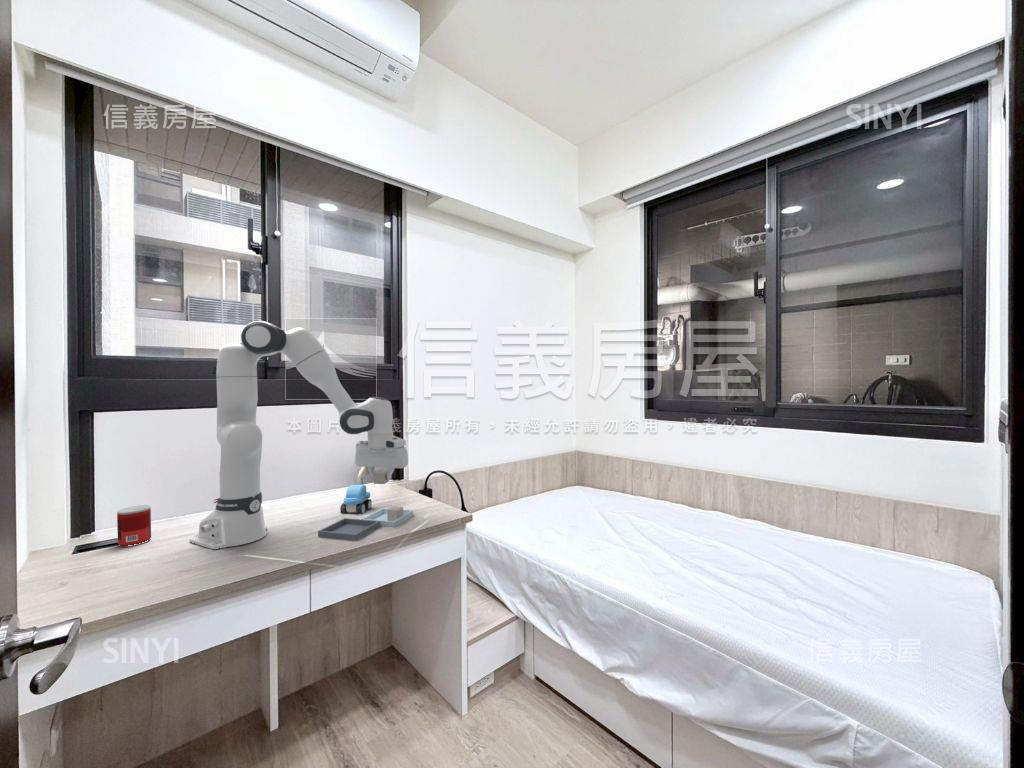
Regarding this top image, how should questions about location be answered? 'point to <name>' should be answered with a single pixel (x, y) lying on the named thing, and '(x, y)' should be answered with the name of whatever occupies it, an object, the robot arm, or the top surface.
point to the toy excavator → (357, 496)
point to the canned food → (134, 525)
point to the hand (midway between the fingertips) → (381, 479)
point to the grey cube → (394, 513)
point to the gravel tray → (349, 529)
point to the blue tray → (382, 517)
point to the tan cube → (380, 477)
